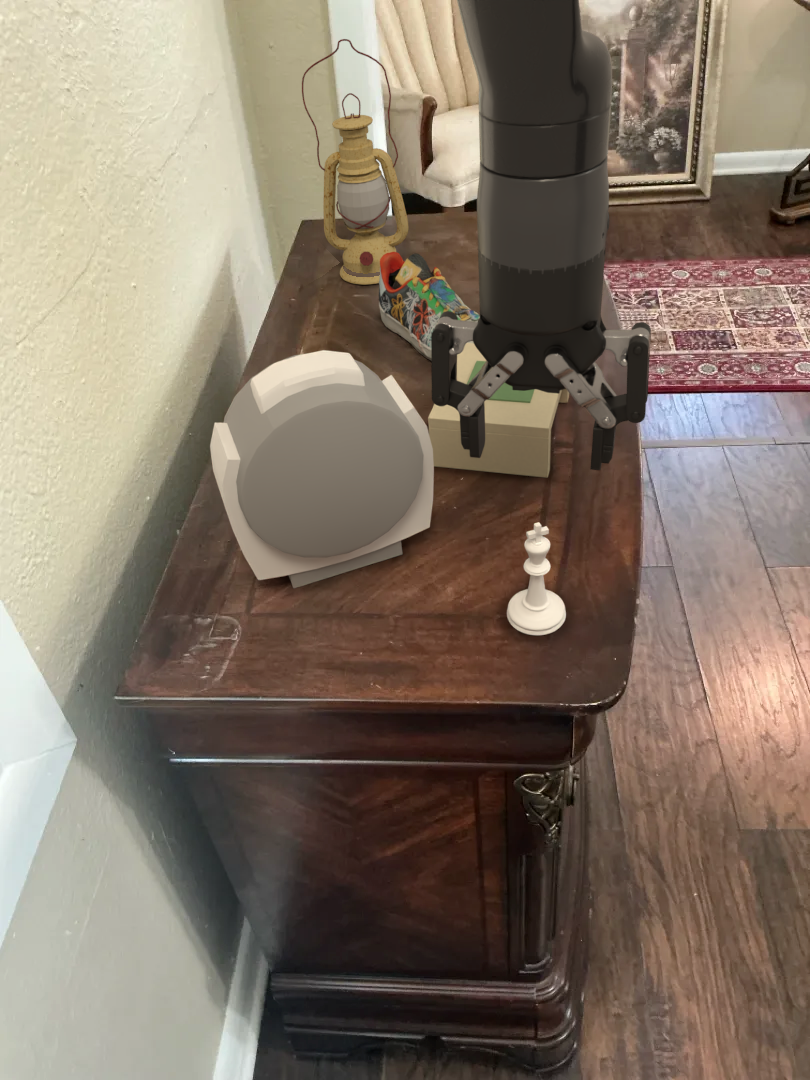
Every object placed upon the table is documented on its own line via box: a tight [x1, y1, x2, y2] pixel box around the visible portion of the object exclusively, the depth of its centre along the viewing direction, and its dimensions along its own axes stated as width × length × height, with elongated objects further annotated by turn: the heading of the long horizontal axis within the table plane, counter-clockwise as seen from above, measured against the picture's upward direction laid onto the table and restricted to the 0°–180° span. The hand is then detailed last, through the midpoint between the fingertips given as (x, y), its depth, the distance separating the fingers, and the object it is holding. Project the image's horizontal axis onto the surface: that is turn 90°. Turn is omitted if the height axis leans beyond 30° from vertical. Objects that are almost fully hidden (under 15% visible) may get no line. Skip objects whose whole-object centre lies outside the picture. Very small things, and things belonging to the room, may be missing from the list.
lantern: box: [301, 38, 409, 285], centre depth 115 cm, size 12×10×30 cm
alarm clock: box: [209, 349, 435, 589], centre depth 74 cm, size 18×8×20 cm, turn 110°
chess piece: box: [506, 521, 567, 636], centre depth 70 cm, size 5×5×10 cm
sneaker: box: [378, 251, 480, 361], centre depth 105 cm, size 8×21×10 cm, turn 38°
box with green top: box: [427, 343, 570, 479], centre depth 91 cm, size 12×15×6 cm
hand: (536, 457), depth 62 cm, fingers open, 8 cm apart
